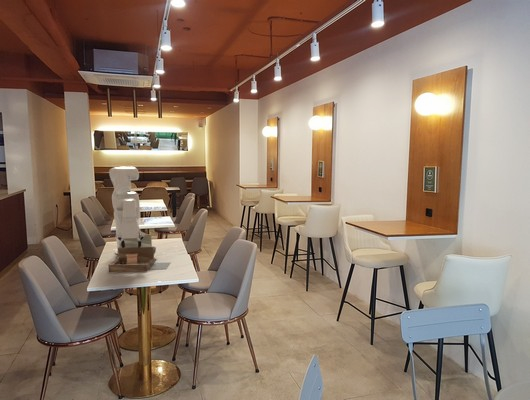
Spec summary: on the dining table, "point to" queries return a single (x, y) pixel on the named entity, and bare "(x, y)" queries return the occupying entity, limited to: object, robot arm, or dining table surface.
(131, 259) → the terracotta pot
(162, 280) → the dining table surface
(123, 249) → the box
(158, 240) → the dining table surface
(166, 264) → the slate mat
